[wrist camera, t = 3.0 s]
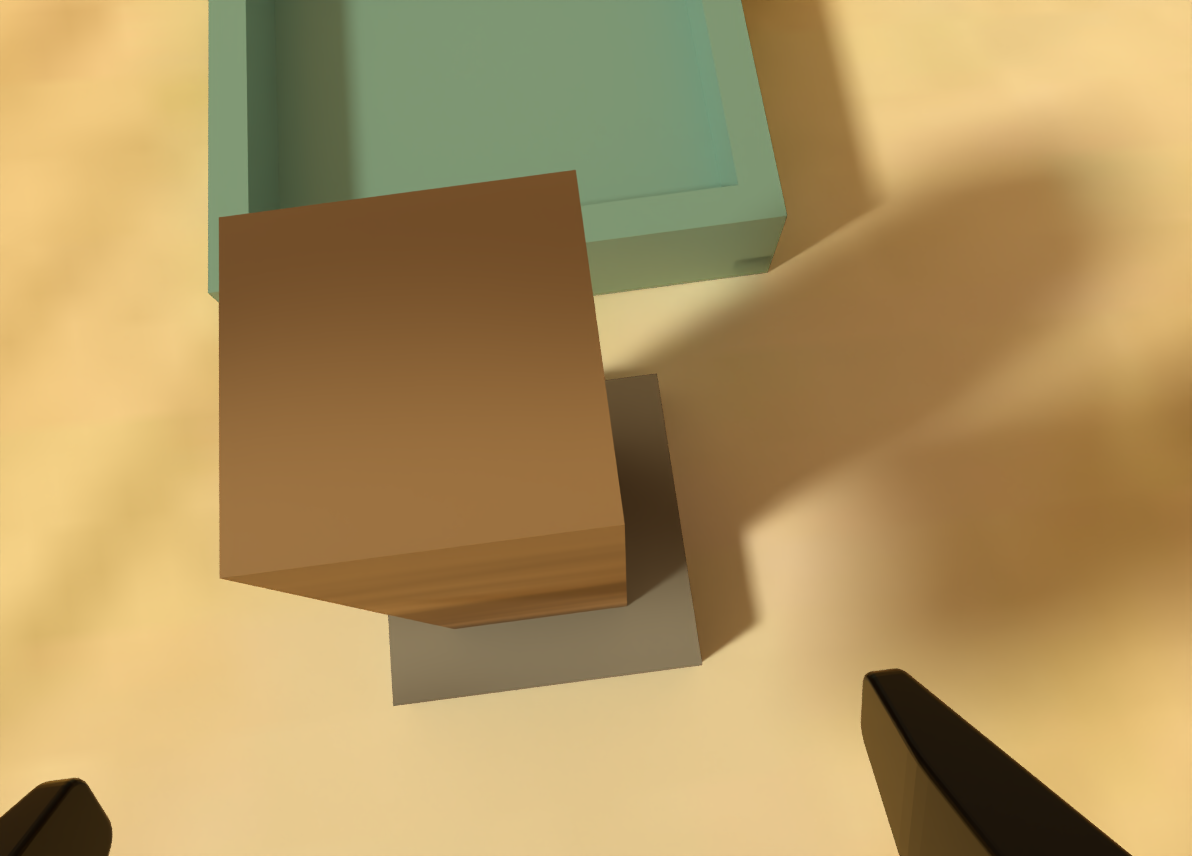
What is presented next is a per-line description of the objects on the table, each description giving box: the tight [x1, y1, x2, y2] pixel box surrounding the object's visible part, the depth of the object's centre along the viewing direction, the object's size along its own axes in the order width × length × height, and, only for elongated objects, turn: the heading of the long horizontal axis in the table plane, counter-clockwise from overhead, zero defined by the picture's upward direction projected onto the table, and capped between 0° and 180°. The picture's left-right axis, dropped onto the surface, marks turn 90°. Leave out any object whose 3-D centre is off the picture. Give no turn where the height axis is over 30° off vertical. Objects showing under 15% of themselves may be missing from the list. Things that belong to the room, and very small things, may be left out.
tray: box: [208, 0, 787, 302], centre depth 24 cm, size 14×14×3 cm
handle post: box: [219, 170, 702, 706], centre depth 15 cm, size 7×7×13 cm
